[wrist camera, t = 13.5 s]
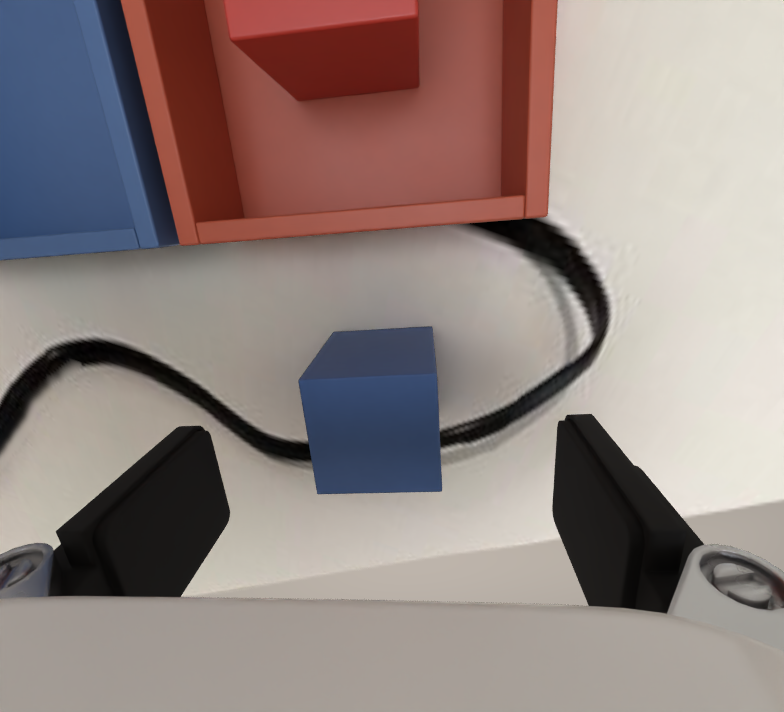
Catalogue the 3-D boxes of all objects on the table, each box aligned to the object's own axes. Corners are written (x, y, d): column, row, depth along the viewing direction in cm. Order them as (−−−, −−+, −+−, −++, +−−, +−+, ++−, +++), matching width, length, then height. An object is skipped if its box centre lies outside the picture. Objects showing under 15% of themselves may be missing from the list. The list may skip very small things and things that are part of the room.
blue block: (344, 419, 18) (316, 494, 13) (332, 331, 16) (297, 380, 12) (436, 416, 17) (442, 492, 13) (432, 326, 16) (437, 373, 11)
